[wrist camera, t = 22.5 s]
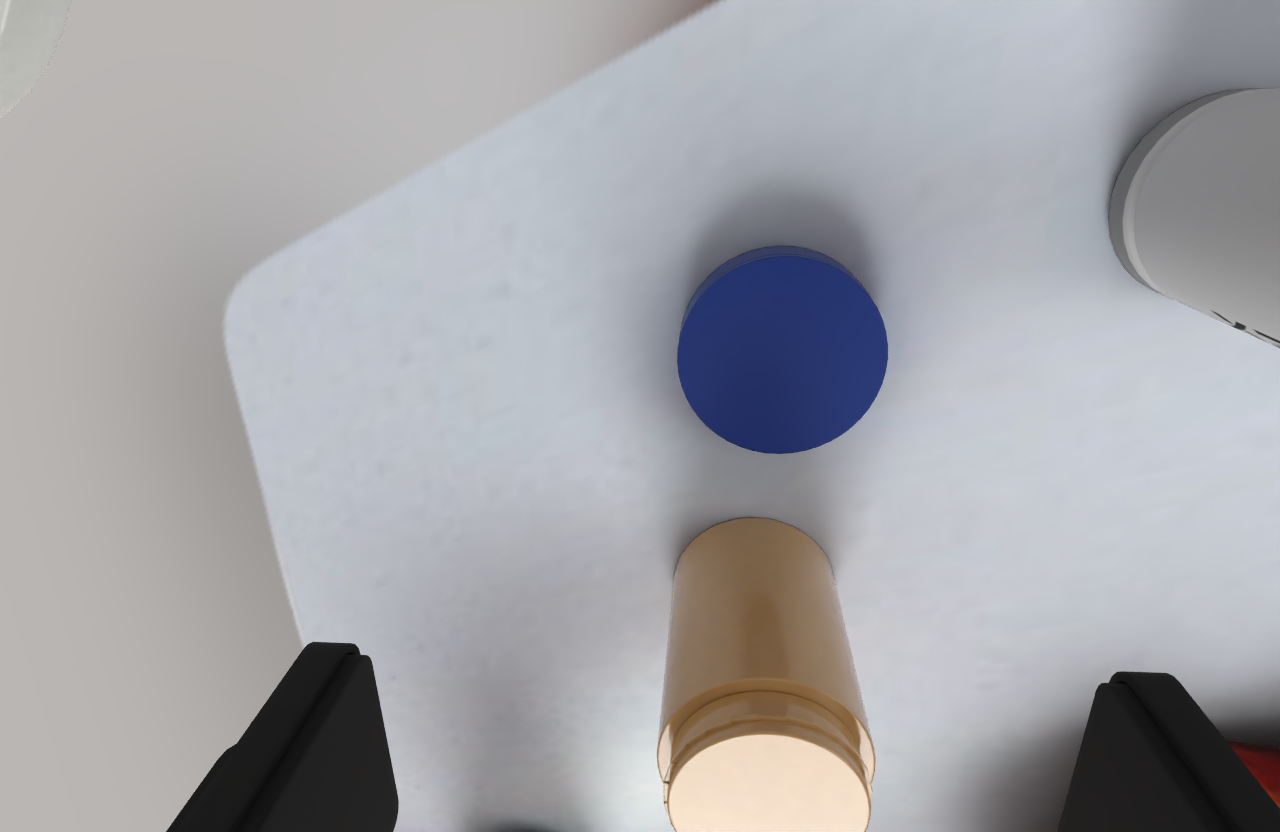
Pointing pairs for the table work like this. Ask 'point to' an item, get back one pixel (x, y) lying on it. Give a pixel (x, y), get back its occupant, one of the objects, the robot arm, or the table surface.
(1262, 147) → the travel mug
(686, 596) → the jar
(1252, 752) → the meat
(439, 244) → the table surface
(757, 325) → the jar lid
